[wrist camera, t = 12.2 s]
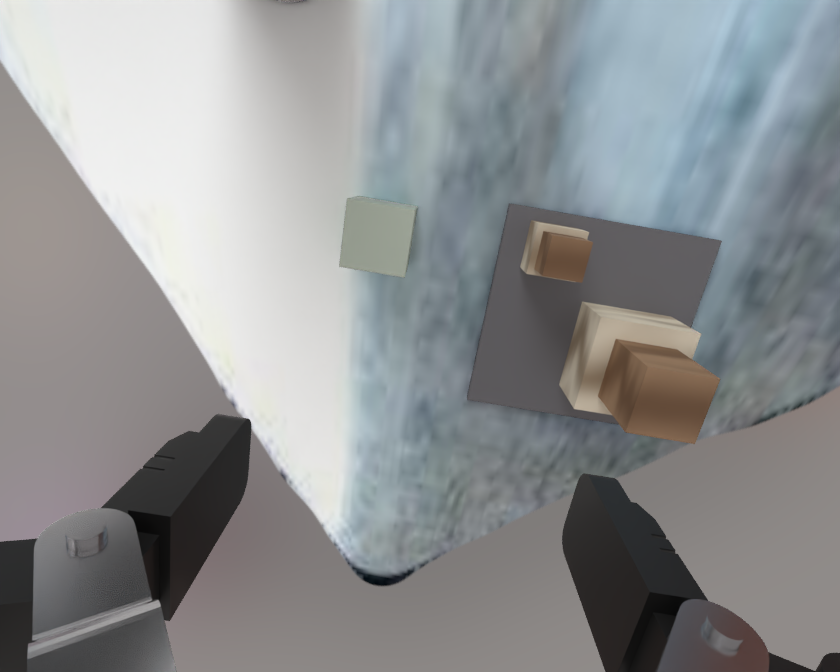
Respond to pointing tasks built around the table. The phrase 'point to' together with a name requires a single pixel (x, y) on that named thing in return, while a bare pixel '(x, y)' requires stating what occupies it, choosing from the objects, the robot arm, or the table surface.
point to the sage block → (377, 236)
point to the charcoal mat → (576, 303)
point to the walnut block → (657, 391)
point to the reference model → (556, 252)
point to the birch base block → (597, 342)
